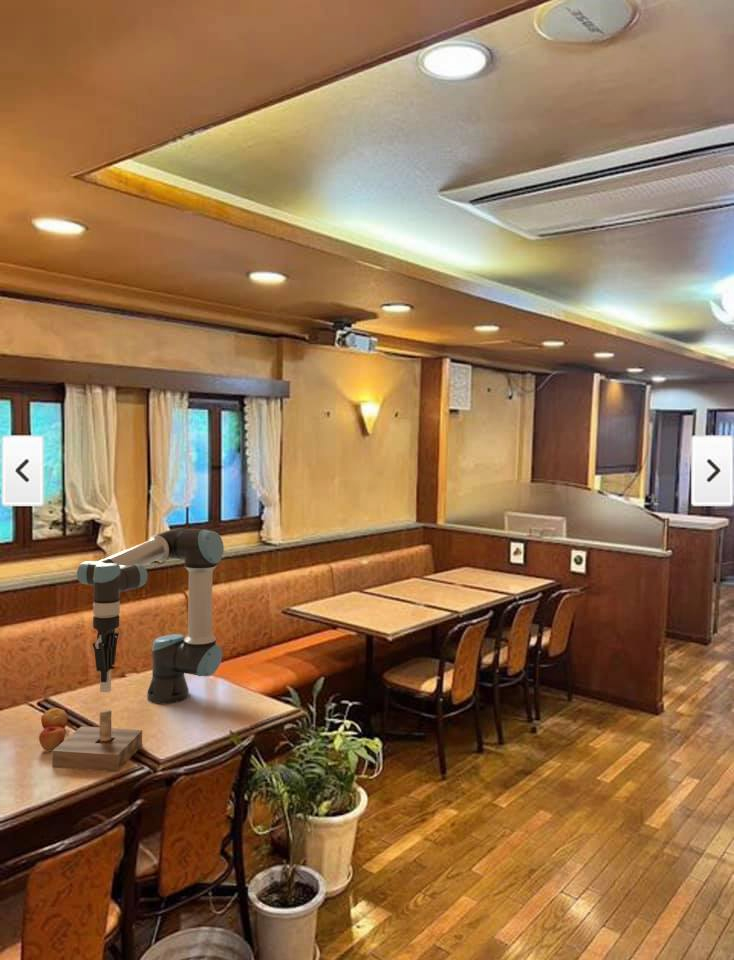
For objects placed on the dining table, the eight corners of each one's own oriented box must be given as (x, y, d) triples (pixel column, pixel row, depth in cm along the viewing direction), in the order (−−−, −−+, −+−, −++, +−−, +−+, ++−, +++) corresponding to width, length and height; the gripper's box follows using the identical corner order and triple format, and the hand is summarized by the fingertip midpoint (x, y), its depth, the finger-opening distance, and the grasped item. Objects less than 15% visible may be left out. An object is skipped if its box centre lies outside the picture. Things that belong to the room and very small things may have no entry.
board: (81, 741, 225) (81, 726, 225) (142, 745, 224) (142, 729, 224) (52, 767, 207) (52, 750, 207) (117, 771, 206) (117, 755, 206)
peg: (102, 753, 217) (102, 709, 217) (113, 754, 217) (113, 709, 216) (96, 758, 214) (97, 713, 213) (108, 759, 214) (108, 714, 213)
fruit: (59, 717, 240) (64, 701, 237) (67, 735, 236) (72, 719, 232) (34, 723, 235) (39, 707, 231) (42, 742, 230) (47, 725, 227)
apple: (63, 753, 216) (63, 728, 216) (37, 756, 214) (37, 730, 214) (66, 743, 223) (66, 719, 223) (41, 746, 221) (41, 721, 221)
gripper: (104, 609, 220) (103, 683, 221) (84, 619, 207) (83, 698, 208) (127, 610, 219) (126, 684, 220) (108, 620, 206) (107, 699, 207)
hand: (105, 691), depth 214 cm, fingers closed
